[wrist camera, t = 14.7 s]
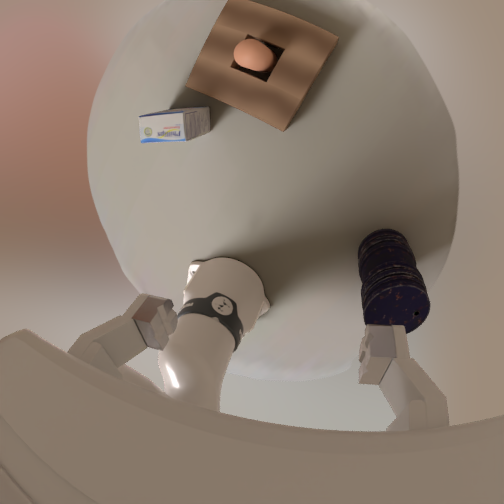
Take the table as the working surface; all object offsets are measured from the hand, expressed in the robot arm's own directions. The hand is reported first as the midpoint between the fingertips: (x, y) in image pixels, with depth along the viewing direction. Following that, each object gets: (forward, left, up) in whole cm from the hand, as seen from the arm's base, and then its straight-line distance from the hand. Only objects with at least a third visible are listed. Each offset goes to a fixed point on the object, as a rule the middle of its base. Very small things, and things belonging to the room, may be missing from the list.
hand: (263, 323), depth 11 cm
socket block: (+9, +13, -34) cm, 38 cm away
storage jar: (-8, -20, -34) cm, 41 cm away
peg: (+9, +13, -34) cm, 38 cm away
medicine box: (-5, +20, -34) cm, 40 cm away
